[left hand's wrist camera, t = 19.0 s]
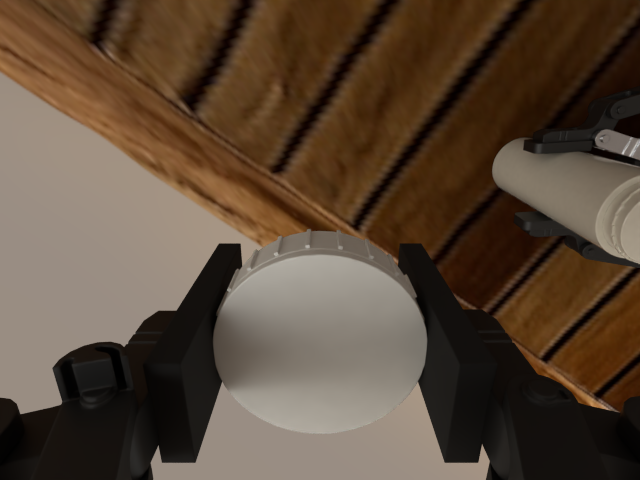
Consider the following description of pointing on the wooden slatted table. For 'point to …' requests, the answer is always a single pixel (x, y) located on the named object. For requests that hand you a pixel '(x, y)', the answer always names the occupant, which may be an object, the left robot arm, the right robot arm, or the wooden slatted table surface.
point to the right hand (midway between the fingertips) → (524, 185)
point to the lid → (320, 333)
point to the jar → (577, 194)
